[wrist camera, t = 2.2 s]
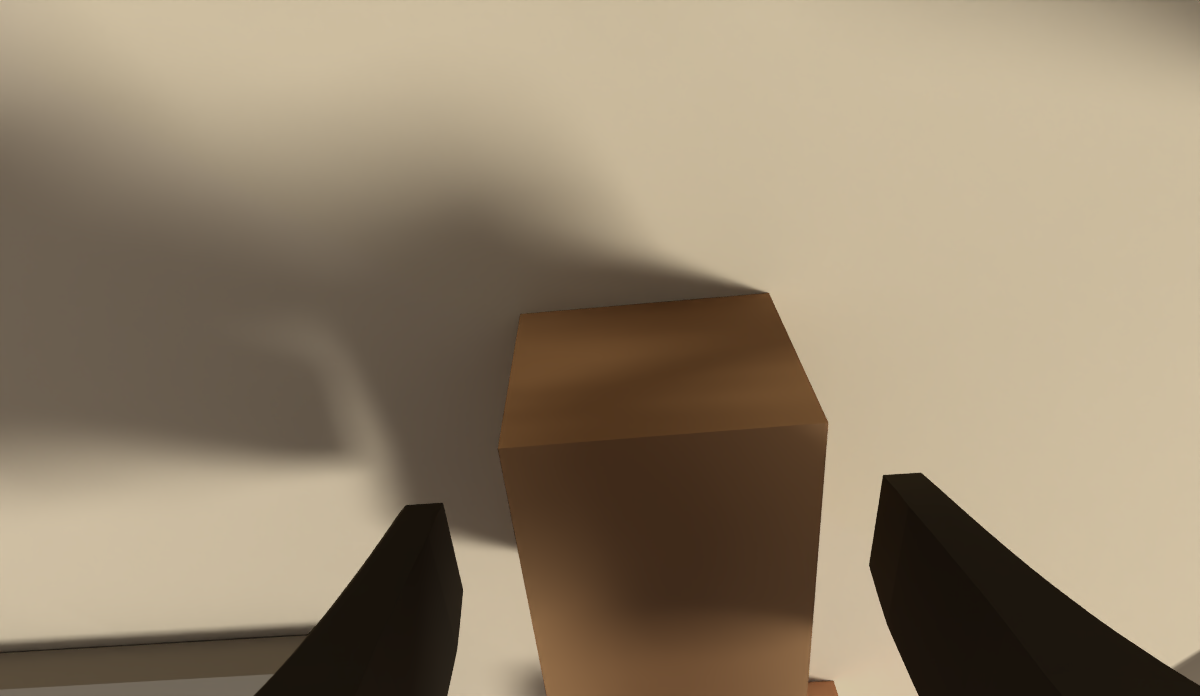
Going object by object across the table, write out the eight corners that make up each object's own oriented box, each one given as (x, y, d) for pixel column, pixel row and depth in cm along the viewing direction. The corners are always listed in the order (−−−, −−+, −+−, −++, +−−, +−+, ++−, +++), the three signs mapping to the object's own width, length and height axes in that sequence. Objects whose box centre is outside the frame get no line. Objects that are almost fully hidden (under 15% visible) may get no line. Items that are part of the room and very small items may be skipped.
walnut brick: (766, 289, 13) (828, 423, 10) (761, 537, 17) (806, 705, 13) (520, 310, 14) (497, 448, 10) (559, 552, 17) (552, 722, 13)
